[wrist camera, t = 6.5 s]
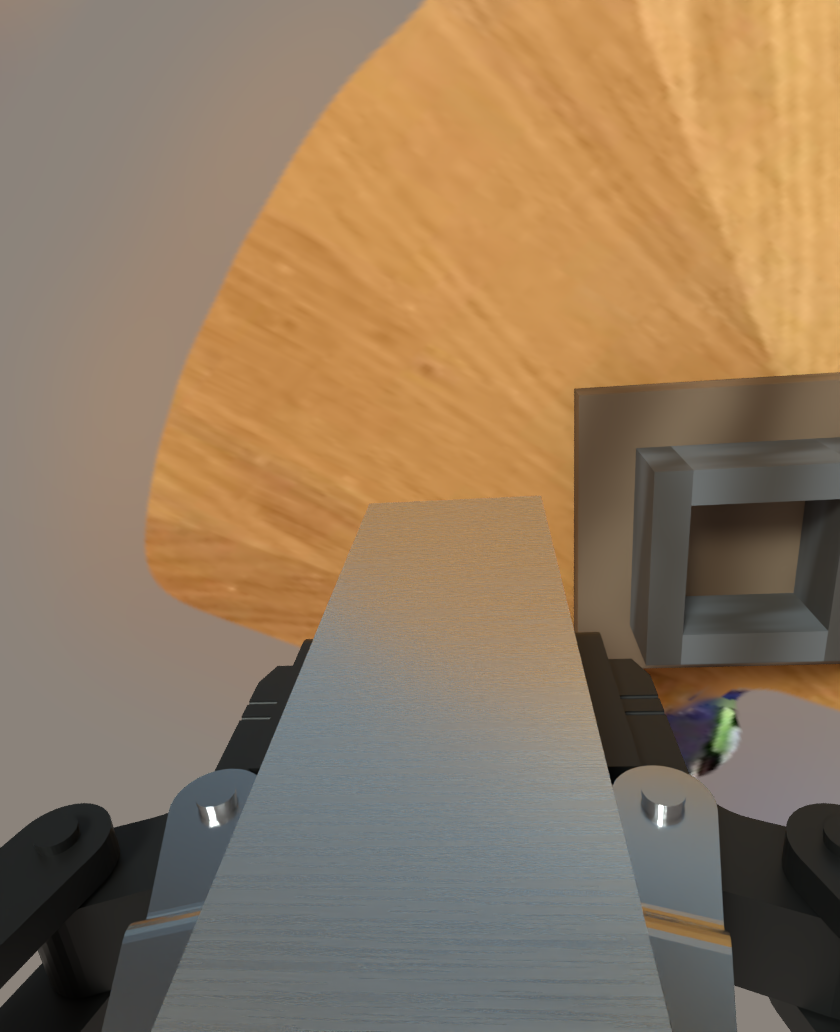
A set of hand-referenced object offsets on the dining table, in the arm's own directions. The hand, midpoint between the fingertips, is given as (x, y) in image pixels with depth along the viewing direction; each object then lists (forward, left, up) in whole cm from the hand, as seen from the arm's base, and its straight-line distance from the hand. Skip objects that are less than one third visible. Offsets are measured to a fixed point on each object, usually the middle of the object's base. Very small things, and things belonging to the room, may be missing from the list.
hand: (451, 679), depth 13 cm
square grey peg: (0, 0, -4) cm, 4 cm away
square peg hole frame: (-12, +6, -21) cm, 25 cm away
